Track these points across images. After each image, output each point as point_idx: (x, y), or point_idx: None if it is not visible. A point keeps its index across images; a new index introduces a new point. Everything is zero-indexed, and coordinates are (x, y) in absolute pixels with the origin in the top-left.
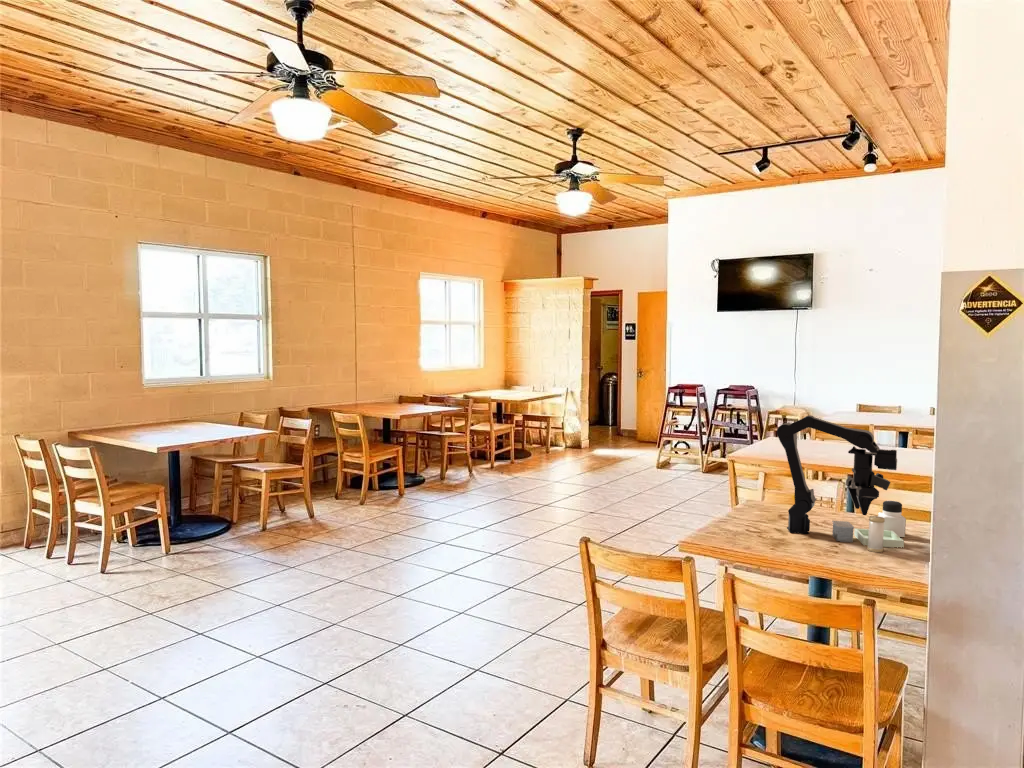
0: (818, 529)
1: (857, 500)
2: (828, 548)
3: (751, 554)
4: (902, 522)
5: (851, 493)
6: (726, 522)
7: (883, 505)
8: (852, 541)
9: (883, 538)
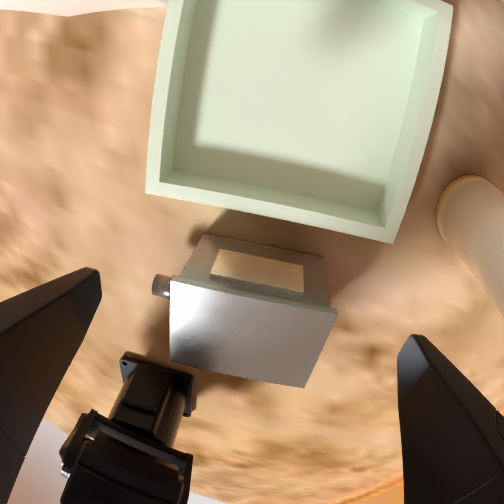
0: None
1: (41, 351)
2: (393, 379)
3: (386, 487)
4: None
5: (18, 459)
6: None
7: None
8: (323, 261)
9: (250, 30)
